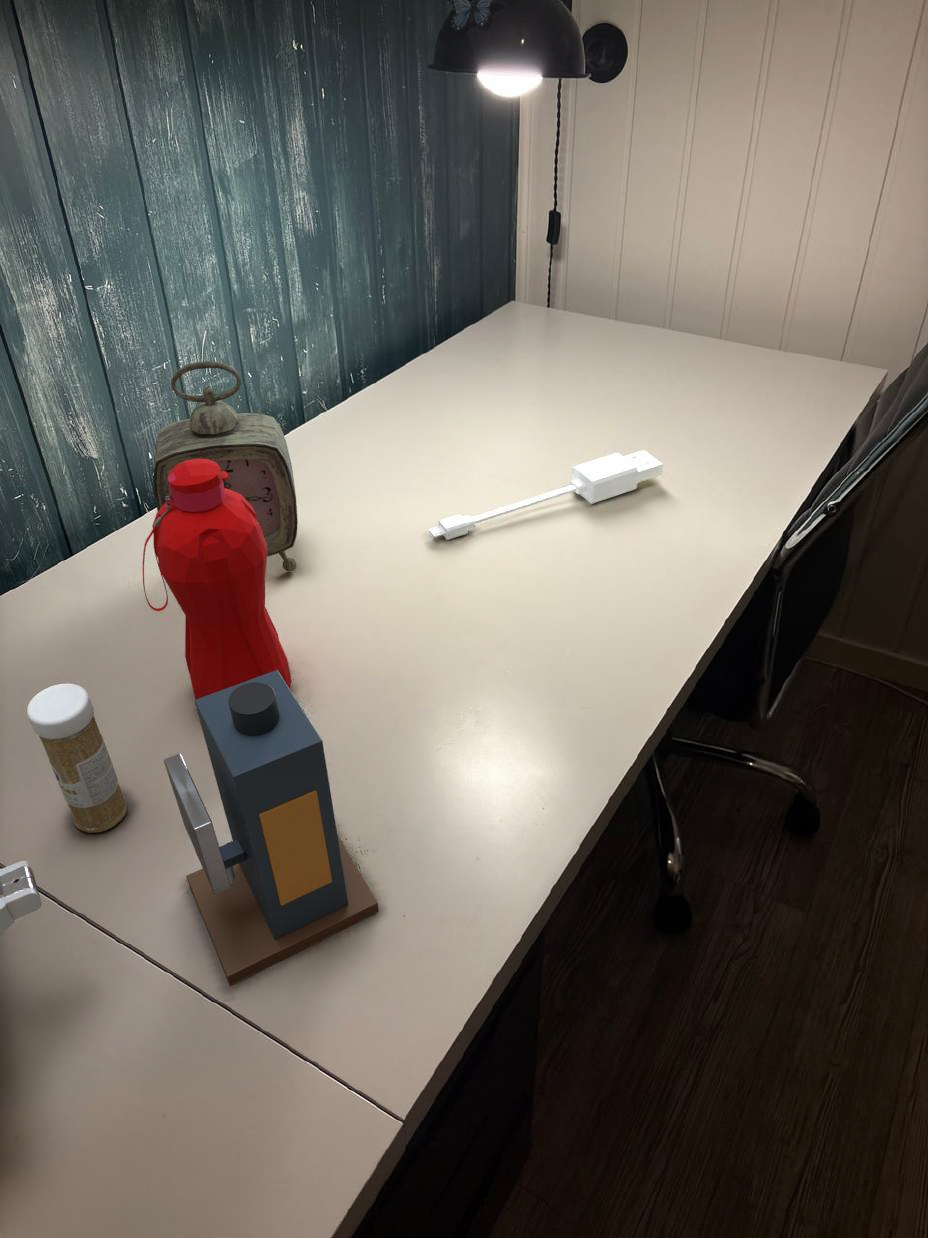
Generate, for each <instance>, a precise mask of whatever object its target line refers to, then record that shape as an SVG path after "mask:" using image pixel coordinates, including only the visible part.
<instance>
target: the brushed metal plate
mask: <svg viewBox="0 0 928 1238" xmlns="http://www.w3.org/2000/svg"><path fill="white" fill-rule="evenodd" d="M163 763H164V766H165V769H166V773H167V776H168V779H169V783H170V785H171V789H172V792H173V795H174V797H175V801H176V804H177V807H178V811H179V814H180V816H181V819H182V822H183V826H184V828H185V830H186V832H187V835H188V837H189V839H190V842H191V844H192V847H193V849H194V851H195V853H196V856H197V859H198V860H199V863H200V865H201V867H202V868H201V869H203V870H204V872H205V875H206V877H207V879H208V882H209V884H210V886H211V889H212V891H213V893H214V894H217V893H219V892H221V891H224V890H226V889H228V888H230V887H231V886H230V882H229V879H228V875H227V872H226V868H225V865H224V862H223V858H222V855H221V851H220V848H219V847H220V844H219V841H218V837H217V834H216V830H215V827H214V824H213V821H212V819H211V817H210V814H209V812H208V810H207V808H206V806H205V803H204V801H203V800H202V797H201V795H200V793H199V790H198V788H197V786H196V784H195V782H194V780H193V777H192V775H191V773H190V771H189V769H188V767H187V765H186V762H185V760H184V758H183V755H182V754H181V753H177V754H174V755H172V756H170V757H167V758H165V759H163Z"/></svg>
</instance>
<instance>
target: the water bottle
mask: <svg viewBox="0 0 928 1238" xmlns="http://www.w3.org/2000/svg"><path fill="white" fill-rule="evenodd" d="M228 478H229V476H228V474H227V472H226V471H223V472H221V469H220V467H219V465H218V464H217V463H216V462H214V461H211V460H208V459H193V460H186V461H184V462H182V463H180V464H178V465H176V466H175V467H174V468H173V469H172V470H171V471H170V473H169V475H168V481H169V487H170V491H171V495H170V496H166V499H165V501H166V503H165V504H164V505H163V506H162V507H161V509H160V510H159V511H158V512H156V513H155V516H154V520H153V522H152V529H151V530H150V531H151V532H150V533H149V534H148V536H147V538H146V540H145V542H144V546H143V551H142V552H143V553H142V585H143V592H144V596H145V600H146V603H147V604H148V606H149V607H150V609H152V610H153V611H154V612H161V611H164V610H165V609H166V607H167V606H168V602H169V595H168V590H167V586H168V588H169V590H170V591H171V593H172V596H174V599H175V601H176V602H177V604H178V606H179V607H180V609H181V611H182V613H183V614H184V618H185V619H184V622H185V623H184V625H185V626H184V639H185V640H184V657H185V662H186V667H187V670H188V675H189V679H190V684H191V687H192V691H193V696H194V699H195V700H196V699H199V698H202V697H205V696H207V695H210V694H213V693H215V692H218V691H221V690H224V689H226V688H229V687H232V686H235V685H237V684H240V683H243V682H246V681H248V680H251V679H254V678H256V677H259V676H262V675H265V674H267V673H270V672H273V671H276V670H278V672H279V673H280V675H281V676H282V678H283V679H284V681H285V683H286V684H287V686H288V687H289V689H290V690H291V687H292V681H293V680H292V676H291V675H292V674H291V671H290V666H289V660H288V657H287V655H286V653H285V650H284V648H283V646H282V644H281V642H280V638H279V637H280V636H279V634H278V631H277V629H276V627H275V625H274V622H273V620H272V619H271V616H270V614H269V612H268V609H267V608H266V573H267V572H266V571H267V561H268V556H267V545H266V542H265V539H264V535H263V532H262V529H261V526H260V524H259V523H258V522H257V517H256V513H255V511H254V510H253V508H252V506H251V505H250V504H249V502H248V501H247V500H246V499H245V498H244V497H243V496H242V495H241V494H239V493H236V492H234V491H232V490H229V489H226V488H224V483H223V480H224V479H228ZM167 498H168V499H167ZM151 537H153V551H154V555H155V560H156V563H157V566H158V571H159V574H160V576H161V579H162V582H163V586H164V588H165V589H164V590H165V595H166V599H165V600H166V601H165V603H164V604H163V606H162V607H158V608H157V607H154V606H153V605H152V604H151V603H150V601H149V599H148V596H147V593H146V587H145V586H146V585H145V556H146V548H147V544H148V542H149V540H150V539H151ZM165 582H166V583H165ZM166 584H167V586H166ZM195 700H194V701H195Z"/></svg>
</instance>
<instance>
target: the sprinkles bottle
mask: <svg viewBox="0 0 928 1238" xmlns="http://www.w3.org/2000/svg"><path fill="white" fill-rule="evenodd" d="M94 709H95V708H94V706H93V703H92V700H91V698H90V695H89V693H88V691H87V690H86V689H85V688H84V687H82V685H81V686H80V685H78V684H74V683H59V684H54V685H51V686H49V687H46V688H44V689H43V690H41V691H39V692H38V693H36V694H35V695H34V696H33V697H32V698H31V700H30V701H29V703H28V705H27V708H26V714H27V717H28V720H29V724H30V725H31V727H32V729H33V731H34V733H35V734H36V735H37V736H38V738H39V740H40V741H41V743H42V745H43V748H44V751H45V753H46V756H47V758H48V763H49V764H50V767H51V768H52V771H53V773H54V776H55V778H56V781H57V783H58V786H59V788H60V790H61V793H62V796H63V798H64V800H65V801H66V803H67V806H68V808H69V810H70V813H71V816H72V821H73V823H74V825H75V827H76V828H77V829H78V830H80V831H82V832H85V833H88V834H95V833H96V834H97V833H102V832H105V831H108V830H109V829H112V828H113V827H115V826H116V825H118V823H120V822H121V821H122V820H123V819H124V818H125V816H126V814H127V813H128V812H127V811H128V800H127V798H126V797H125V795H123V793H122V789H121V786H120V784H119V779H118V776H117V773H116V770H115V767H114V765H113V761H112V759H111V756H110V754H109V753H110V752H109V750H108V748H107V745H106V742H105V739H104V736H103V735H102V733H101V731H100V729H99V726H98V723H97V721H96V718H95V715H94V714H95V710H94Z"/></svg>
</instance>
